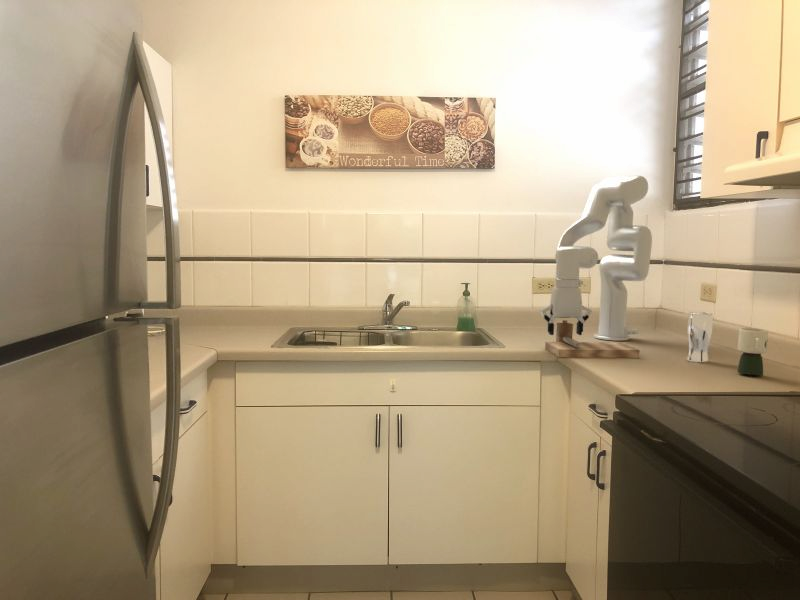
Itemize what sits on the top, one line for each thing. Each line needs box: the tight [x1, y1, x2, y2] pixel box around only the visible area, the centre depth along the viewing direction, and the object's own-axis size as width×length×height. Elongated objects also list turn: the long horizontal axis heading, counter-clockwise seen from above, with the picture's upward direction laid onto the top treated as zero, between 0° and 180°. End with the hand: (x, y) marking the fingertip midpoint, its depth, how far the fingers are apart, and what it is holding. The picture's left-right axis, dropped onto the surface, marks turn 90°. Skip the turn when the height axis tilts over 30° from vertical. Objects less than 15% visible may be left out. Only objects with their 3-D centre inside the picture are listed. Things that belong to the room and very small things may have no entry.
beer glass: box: [686, 311, 714, 364], centre depth 194 cm, size 7×7×15 cm
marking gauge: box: [555, 319, 582, 347], centre depth 205 cm, size 4×15×9 cm, turn 4°
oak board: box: [544, 341, 640, 359], centre depth 203 cm, size 26×14×3 cm, turn 94°
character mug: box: [737, 327, 769, 377], centre depth 175 cm, size 11×7×13 cm, turn 166°
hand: (565, 334), depth 212 cm, fingers open, 9 cm apart
